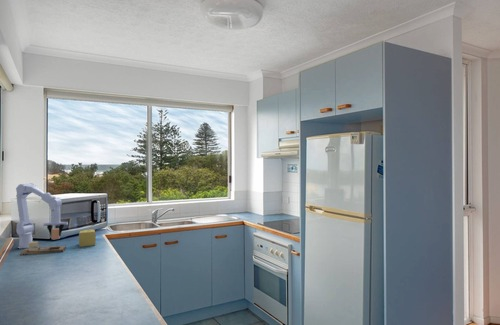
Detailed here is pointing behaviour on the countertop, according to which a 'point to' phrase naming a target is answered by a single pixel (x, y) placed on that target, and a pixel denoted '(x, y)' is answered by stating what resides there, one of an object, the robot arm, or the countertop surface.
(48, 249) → the puzzle board
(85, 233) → the cheese
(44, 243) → the countertop surface
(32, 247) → the maple block
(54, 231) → the terracotta block
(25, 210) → the robot arm
